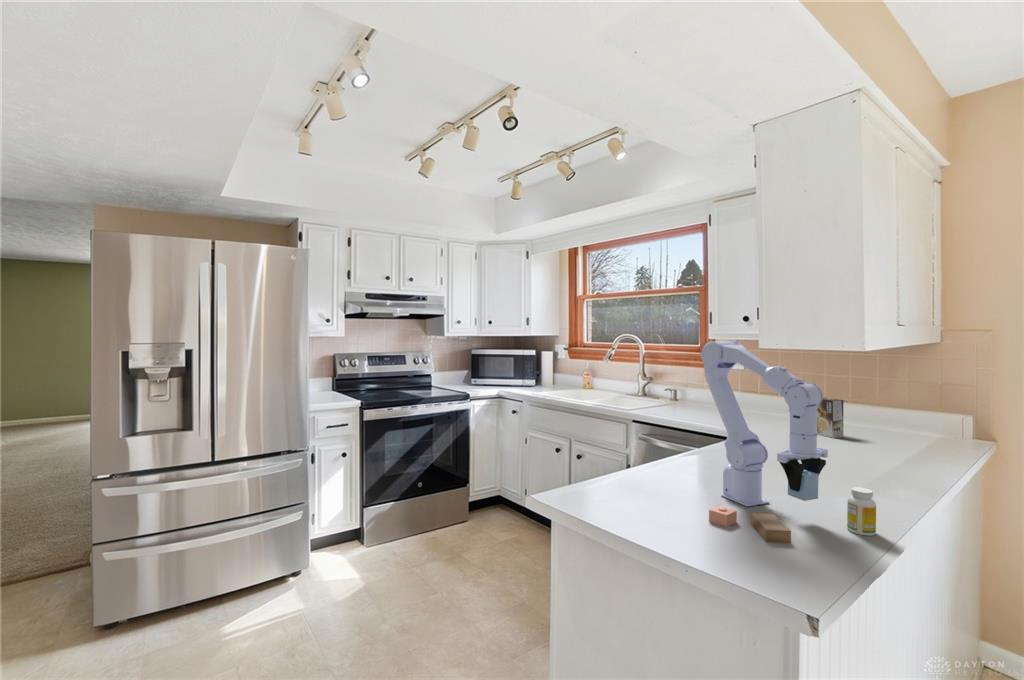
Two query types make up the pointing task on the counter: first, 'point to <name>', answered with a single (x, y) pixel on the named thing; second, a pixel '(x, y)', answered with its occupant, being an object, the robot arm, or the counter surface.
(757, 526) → the base brick
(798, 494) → the blue brick
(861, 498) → the supplement bottle
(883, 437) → the counter surface
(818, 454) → the robot arm
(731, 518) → the brick
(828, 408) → the coffee box
